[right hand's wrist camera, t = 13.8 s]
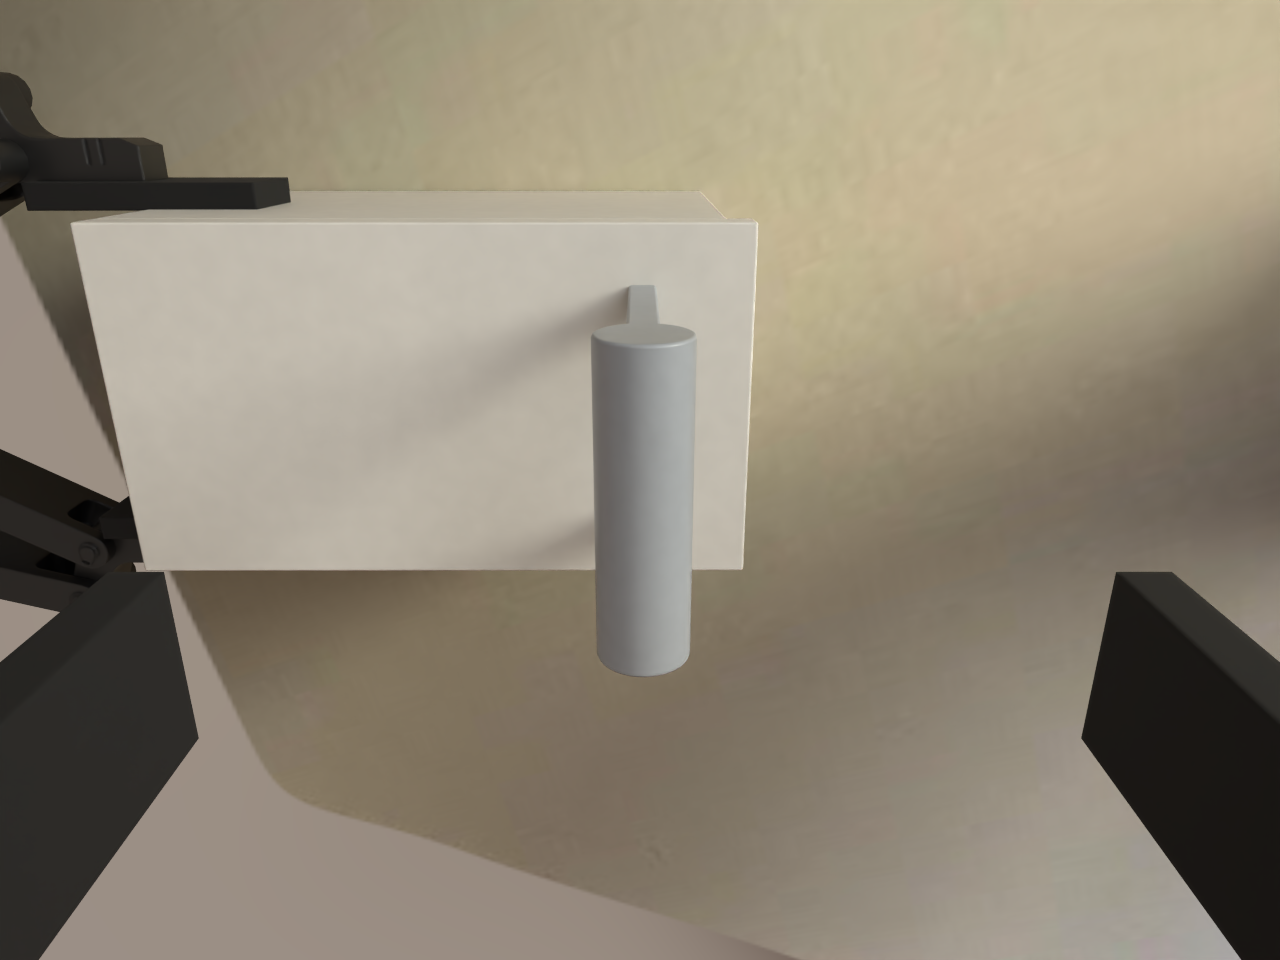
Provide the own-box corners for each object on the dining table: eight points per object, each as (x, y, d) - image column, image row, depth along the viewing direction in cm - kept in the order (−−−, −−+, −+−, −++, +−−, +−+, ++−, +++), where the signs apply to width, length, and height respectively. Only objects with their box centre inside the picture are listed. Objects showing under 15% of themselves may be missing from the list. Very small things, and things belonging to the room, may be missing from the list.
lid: (753, 218, 23) (813, 265, 15) (739, 554, 27) (782, 734, 19) (92, 218, 23) (-189, 265, 15) (163, 554, 27) (-39, 735, 19)
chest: (700, 190, 33) (727, 218, 23) (694, 437, 37) (715, 553, 27) (257, 190, 33) (93, 217, 23) (292, 437, 37) (163, 554, 27)
